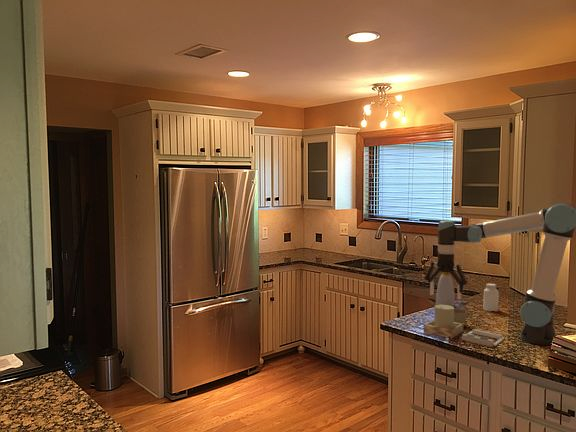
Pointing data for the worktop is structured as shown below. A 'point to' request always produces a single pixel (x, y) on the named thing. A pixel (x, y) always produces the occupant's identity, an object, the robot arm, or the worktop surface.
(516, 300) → the worktop surface
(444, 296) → the soap bottle
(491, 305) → the pill bottle
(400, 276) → the worktop surface
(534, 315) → the robot arm
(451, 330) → the open box
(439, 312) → the can
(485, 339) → the white square frame
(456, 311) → the flower pot
